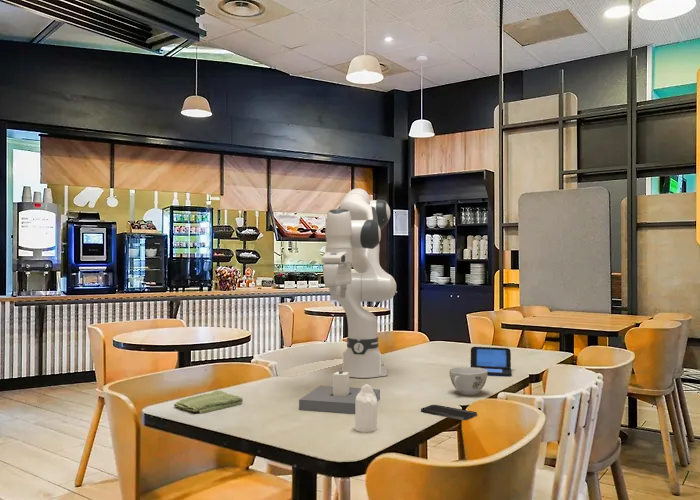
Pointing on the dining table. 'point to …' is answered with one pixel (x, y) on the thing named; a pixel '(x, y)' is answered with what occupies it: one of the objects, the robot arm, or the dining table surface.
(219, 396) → the washcloth
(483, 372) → the teacup
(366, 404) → the white bottle
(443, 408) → the phone
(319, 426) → the dining table surface
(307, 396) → the grey socket board
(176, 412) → the dining table surface
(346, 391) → the charger plug
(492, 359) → the handheld game console
